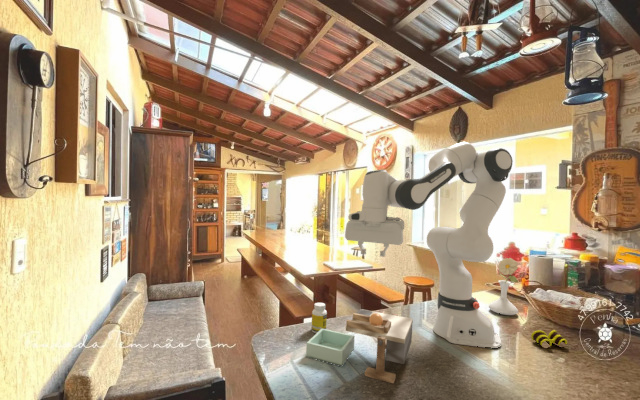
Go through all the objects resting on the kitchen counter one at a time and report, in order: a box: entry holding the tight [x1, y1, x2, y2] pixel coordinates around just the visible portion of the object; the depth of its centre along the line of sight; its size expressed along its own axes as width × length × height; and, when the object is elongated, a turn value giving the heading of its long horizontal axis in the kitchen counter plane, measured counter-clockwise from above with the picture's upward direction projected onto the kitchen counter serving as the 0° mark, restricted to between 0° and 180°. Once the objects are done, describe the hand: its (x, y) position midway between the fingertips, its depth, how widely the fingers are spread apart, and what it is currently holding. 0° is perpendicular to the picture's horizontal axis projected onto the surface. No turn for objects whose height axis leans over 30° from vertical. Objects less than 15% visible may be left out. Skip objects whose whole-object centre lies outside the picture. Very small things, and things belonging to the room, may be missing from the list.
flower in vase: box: [488, 257, 519, 316], centre depth 140 cm, size 13×11×25 cm
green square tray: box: [305, 328, 355, 367], centre depth 100 cm, size 12×12×4 cm
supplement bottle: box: [310, 302, 328, 334], centre depth 116 cm, size 5×5×10 cm
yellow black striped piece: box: [530, 329, 568, 347], centre depth 110 cm, size 10×5×5 cm, turn 96°
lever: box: [345, 308, 414, 365], centre depth 98 cm, size 17×16×9 cm
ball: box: [369, 313, 383, 326], centre depth 94 cm, size 4×4×4 cm
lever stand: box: [364, 312, 399, 384], centre depth 97 cm, size 8×22×11 cm, turn 156°
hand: (372, 255), depth 112 cm, fingers open, 5 cm apart
